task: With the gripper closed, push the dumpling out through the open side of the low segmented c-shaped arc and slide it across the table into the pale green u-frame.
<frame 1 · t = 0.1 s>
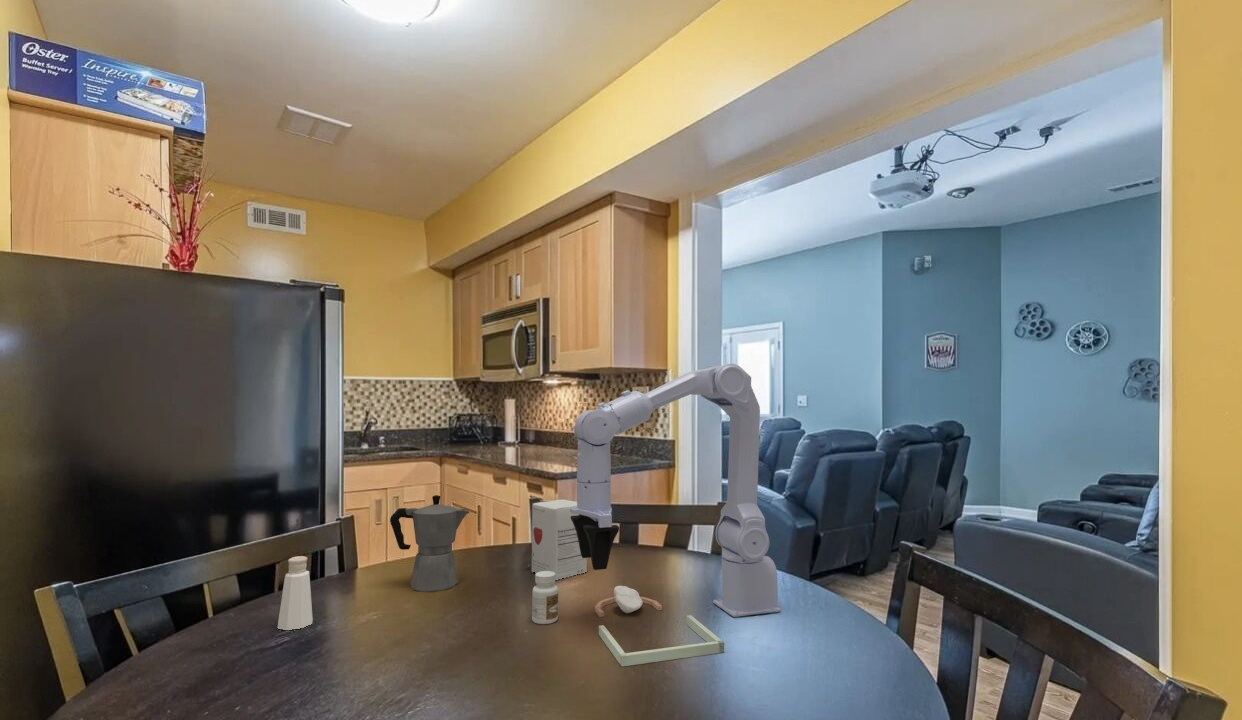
hand: (593, 562, 100), 10 cm above the table, tool pointing down, fingers open, 7 cm apart
dumpling: (628, 612, 105), on the table
pepper shaker: (295, 626, 98), on the table
segmented c-shaped arc: (628, 610, 105), on the table
pale green u-frame: (659, 643, 91), on the table
coffeepot: (428, 586, 120), on the table
supplement box: (558, 573, 129), on the table
pill bottle: (545, 621, 101), on the table
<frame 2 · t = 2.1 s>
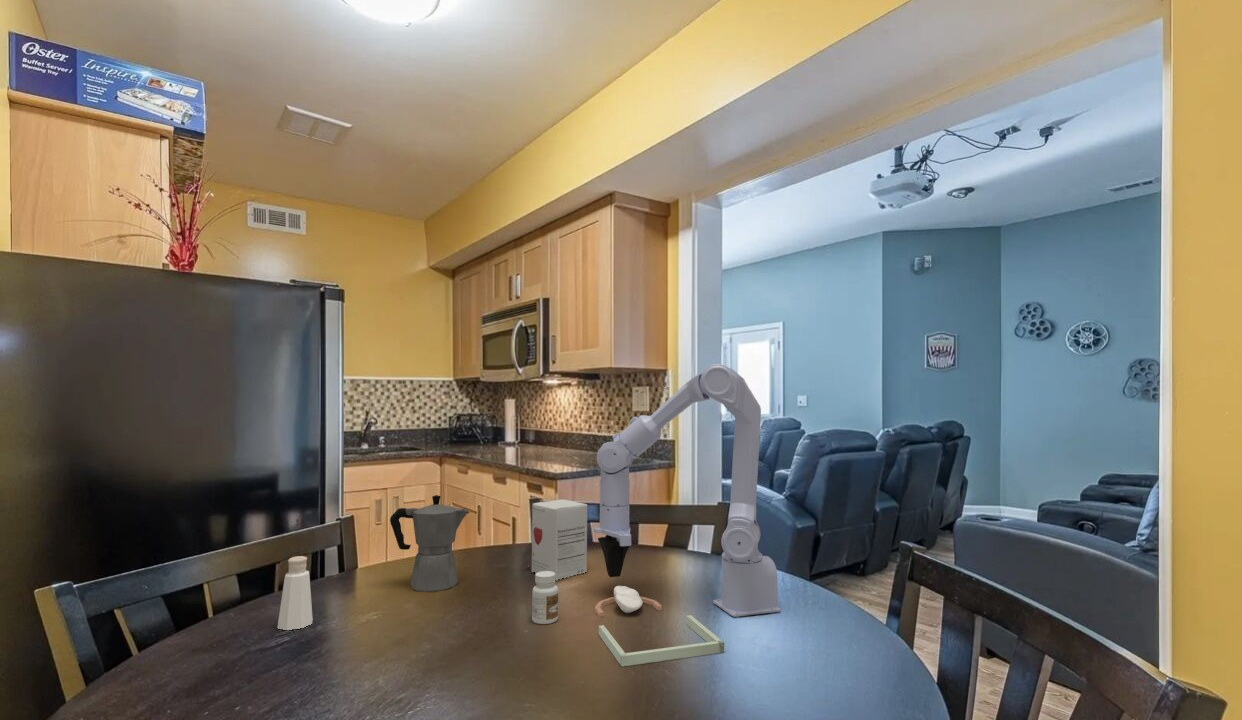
hand: (614, 575, 114), 4 cm above the table, tool pointing down, fingers closed
nothing on the table moved.
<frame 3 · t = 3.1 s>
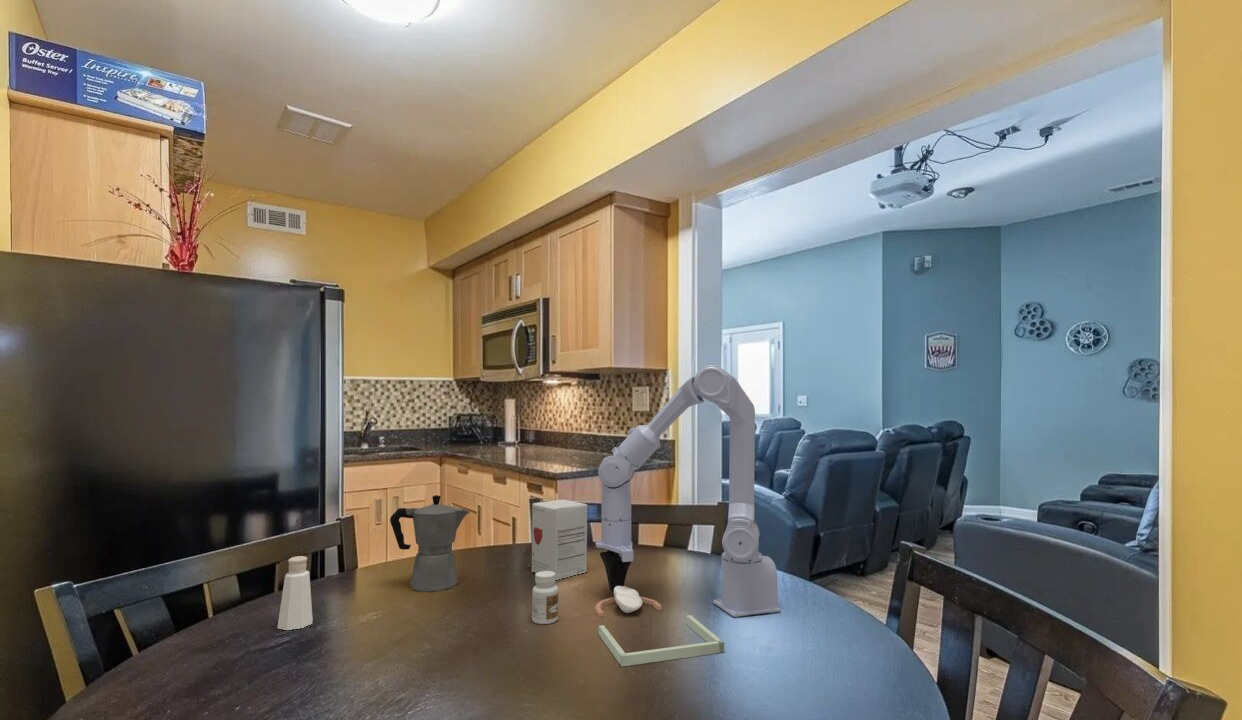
hand: (616, 591, 113), 1 cm above the table, tool pointing down, fingers closed
nothing on the table moved.
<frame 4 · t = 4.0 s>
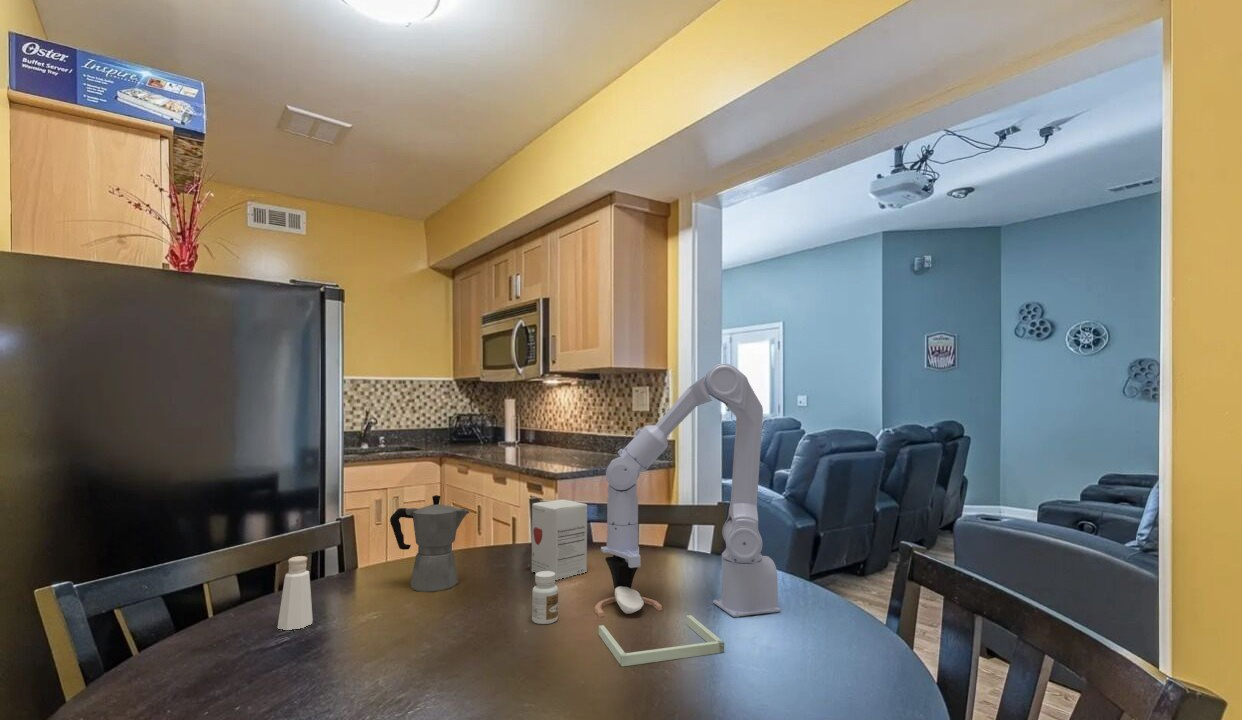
hand: (622, 597, 109), 1 cm above the table, tool pointing down, fingers closed
dumpling: (629, 613, 105), on the table, touching gripper
everything else where it was.
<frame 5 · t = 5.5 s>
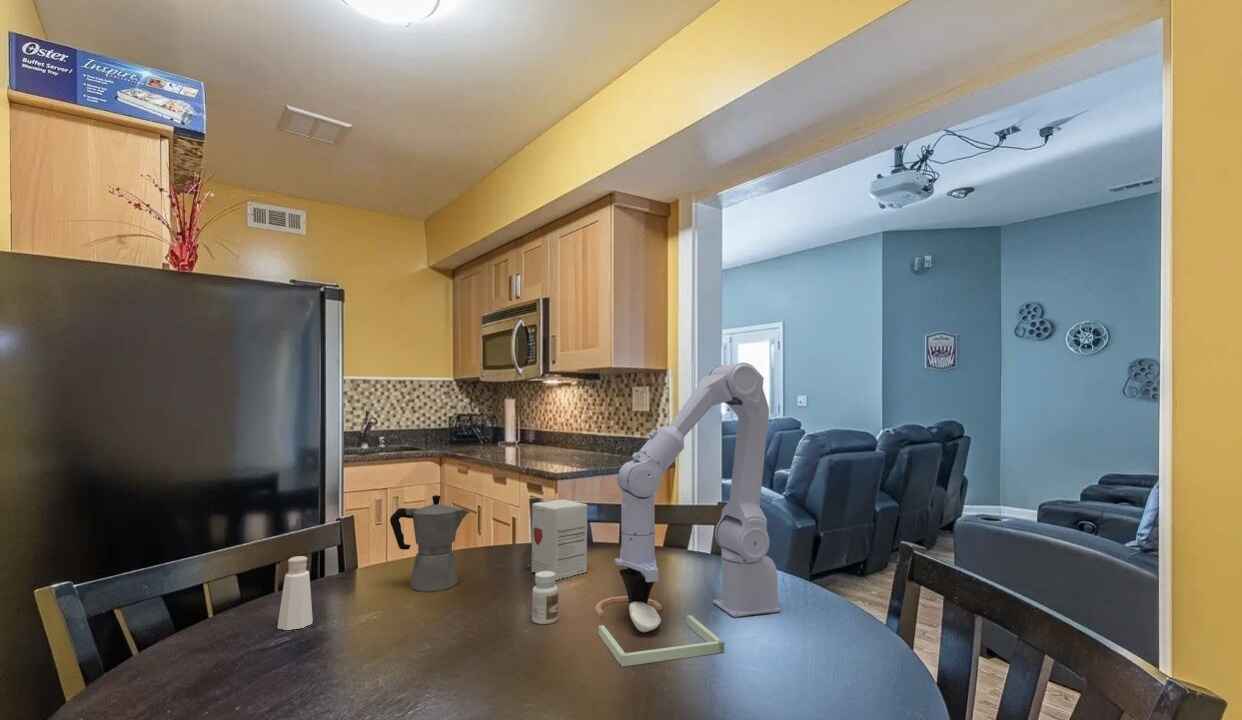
hand: (638, 613, 101), 1 cm above the table, tool pointing down, fingers closed
dumpling: (645, 631, 96), on the table, touching gripper
everything else where it was.
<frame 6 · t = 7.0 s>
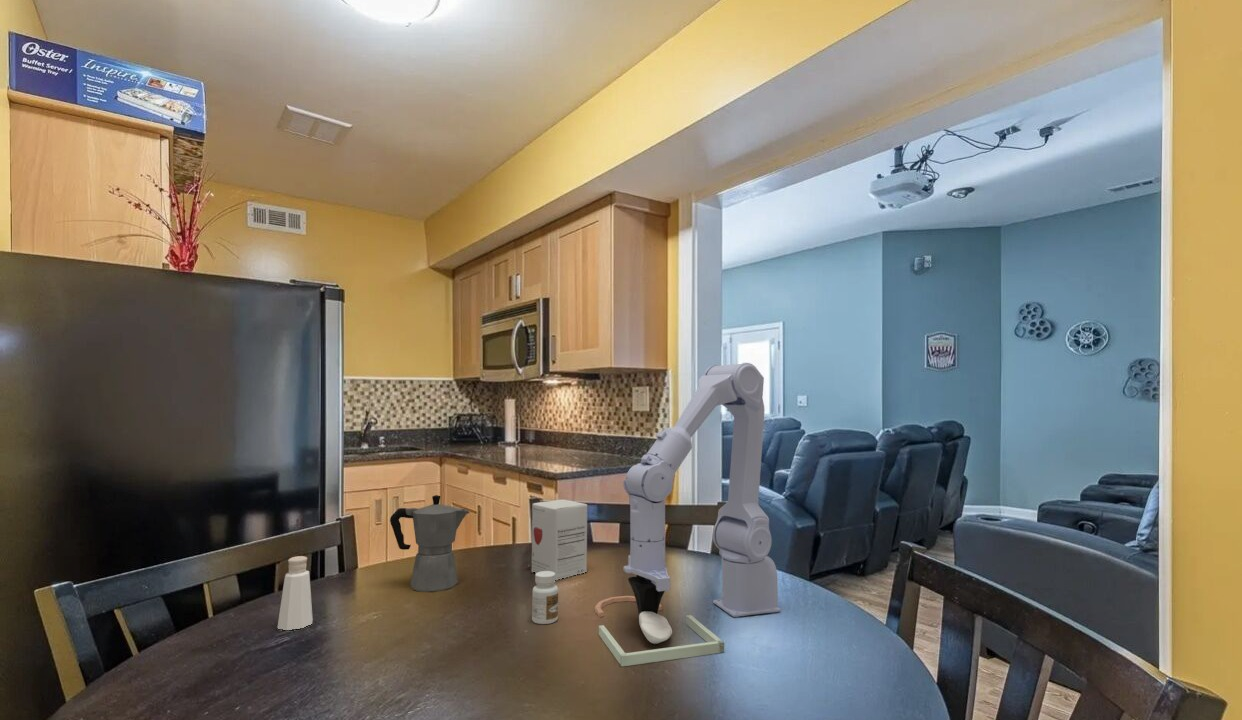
hand: (647, 623, 96), 1 cm above the table, tool pointing down, fingers closed
dumpling: (655, 642, 92), on the table, touching gripper
everything else where it was.
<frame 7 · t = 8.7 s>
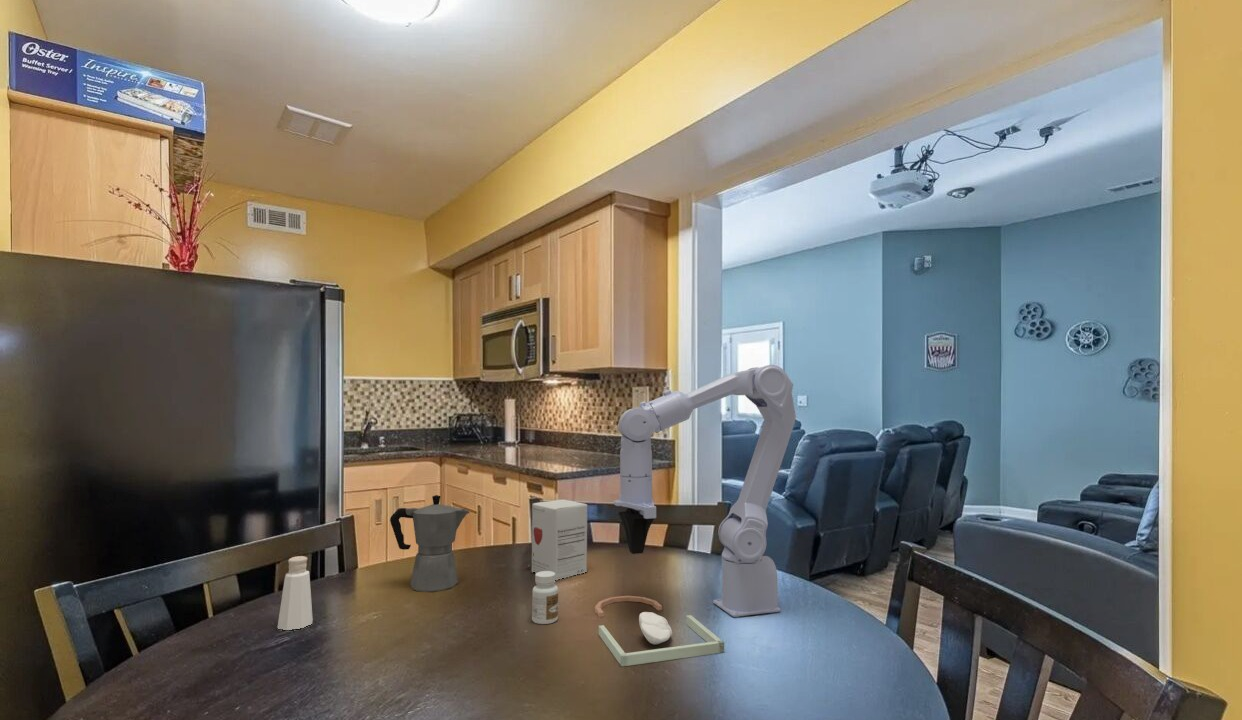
hand: (636, 552, 105), 10 cm above the table, tool pointing down, fingers closed
dumpling: (655, 643, 92), on the table
everything else where it was.
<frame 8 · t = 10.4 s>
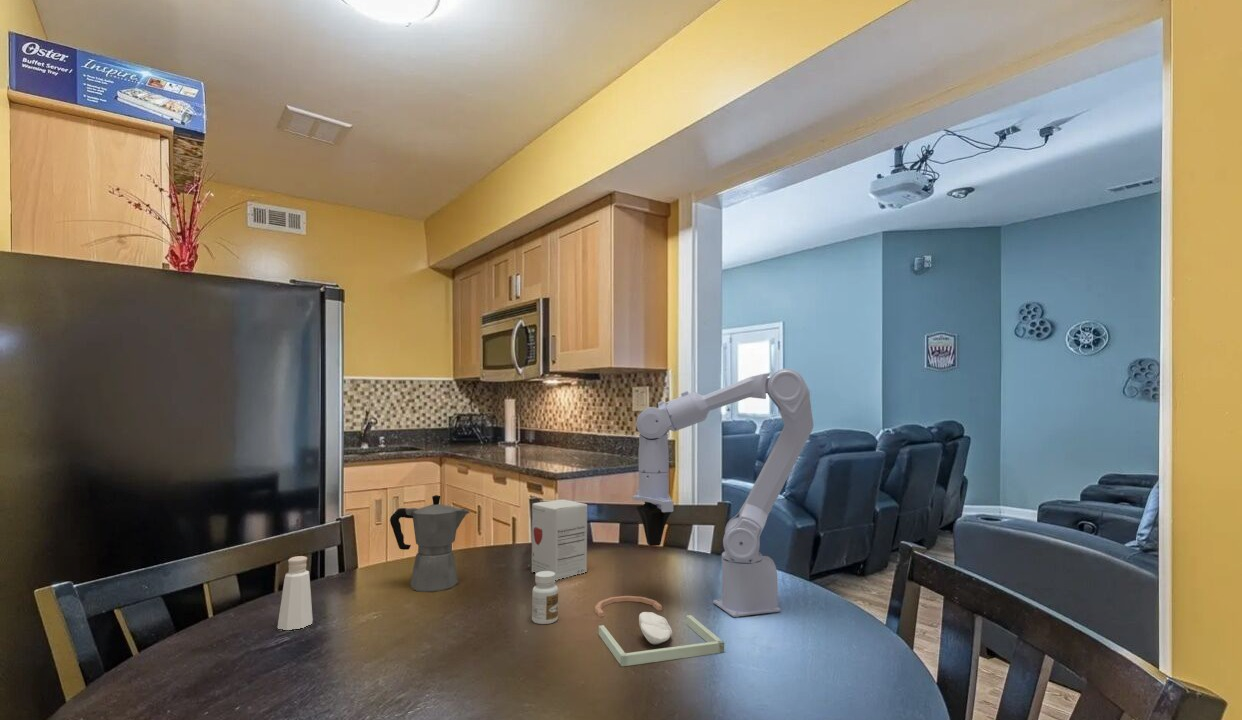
hand: (653, 544, 111), 10 cm above the table, tool pointing down, fingers closed
nothing on the table moved.
at the end: dumpling inside the target area on the pale green u-frame (0.4 cm from its centre), point 0.0 cm above the pale green u-frame's base; dumpling moved 14.2 cm from its start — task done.
